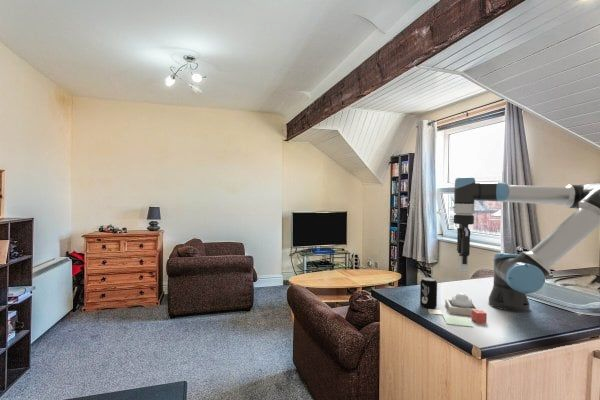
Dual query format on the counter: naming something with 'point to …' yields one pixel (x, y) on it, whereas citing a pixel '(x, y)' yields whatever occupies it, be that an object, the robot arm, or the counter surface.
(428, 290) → the beverage can
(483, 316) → the red die
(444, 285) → the counter surface
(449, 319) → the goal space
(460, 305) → the dome
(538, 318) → the counter surface
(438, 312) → the track space
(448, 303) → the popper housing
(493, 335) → the counter surface
